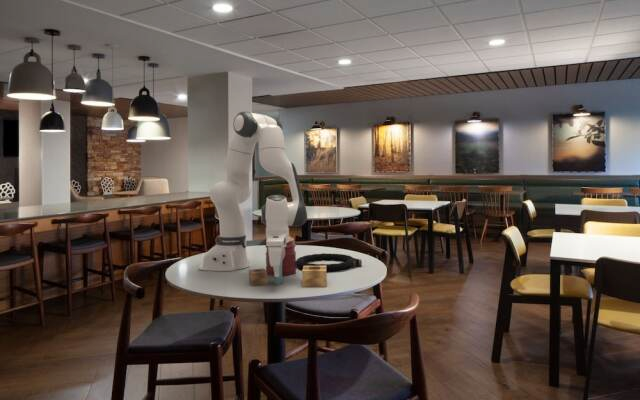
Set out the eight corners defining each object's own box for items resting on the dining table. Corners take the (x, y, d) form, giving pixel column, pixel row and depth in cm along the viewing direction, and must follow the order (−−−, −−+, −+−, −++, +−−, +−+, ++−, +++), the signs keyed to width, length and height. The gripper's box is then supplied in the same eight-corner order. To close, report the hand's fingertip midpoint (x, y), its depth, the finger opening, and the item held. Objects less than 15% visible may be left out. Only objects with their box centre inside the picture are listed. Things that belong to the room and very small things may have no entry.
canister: (292, 276, 189) (291, 233, 187) (262, 275, 191) (260, 233, 189) (299, 269, 201) (298, 229, 200) (270, 268, 204) (269, 229, 202)
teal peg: (274, 284, 176) (273, 255, 175) (275, 283, 179) (274, 254, 178) (281, 284, 176) (281, 255, 175) (282, 282, 178) (281, 254, 178)
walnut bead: (251, 286, 175) (251, 273, 174) (249, 282, 180) (248, 269, 180) (267, 284, 176) (267, 271, 176) (264, 280, 182) (263, 268, 182)
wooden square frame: (302, 286, 172) (302, 271, 172) (303, 280, 181) (303, 265, 181) (326, 286, 172) (326, 270, 172) (326, 280, 181) (326, 265, 181)
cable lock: (303, 252, 224) (364, 253, 218) (303, 259, 224) (364, 261, 218) (287, 264, 197) (357, 265, 191) (288, 272, 197) (357, 274, 191)
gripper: (272, 233, 186) (273, 267, 187) (265, 242, 166) (266, 280, 167) (288, 233, 186) (289, 267, 187) (283, 242, 166) (284, 279, 167)
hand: (278, 273), depth 177 cm, fingers open, 8 cm apart
